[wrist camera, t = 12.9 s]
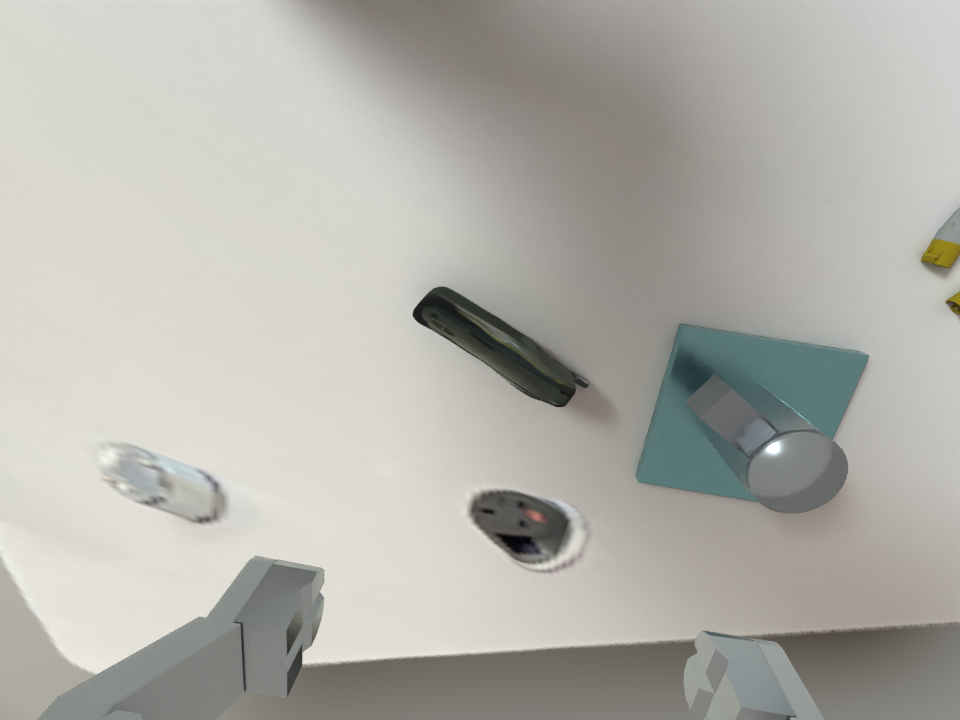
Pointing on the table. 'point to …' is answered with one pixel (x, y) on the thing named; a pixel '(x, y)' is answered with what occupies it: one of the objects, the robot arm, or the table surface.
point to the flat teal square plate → (741, 364)
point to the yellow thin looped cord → (946, 250)
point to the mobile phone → (497, 346)
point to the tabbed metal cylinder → (770, 446)
